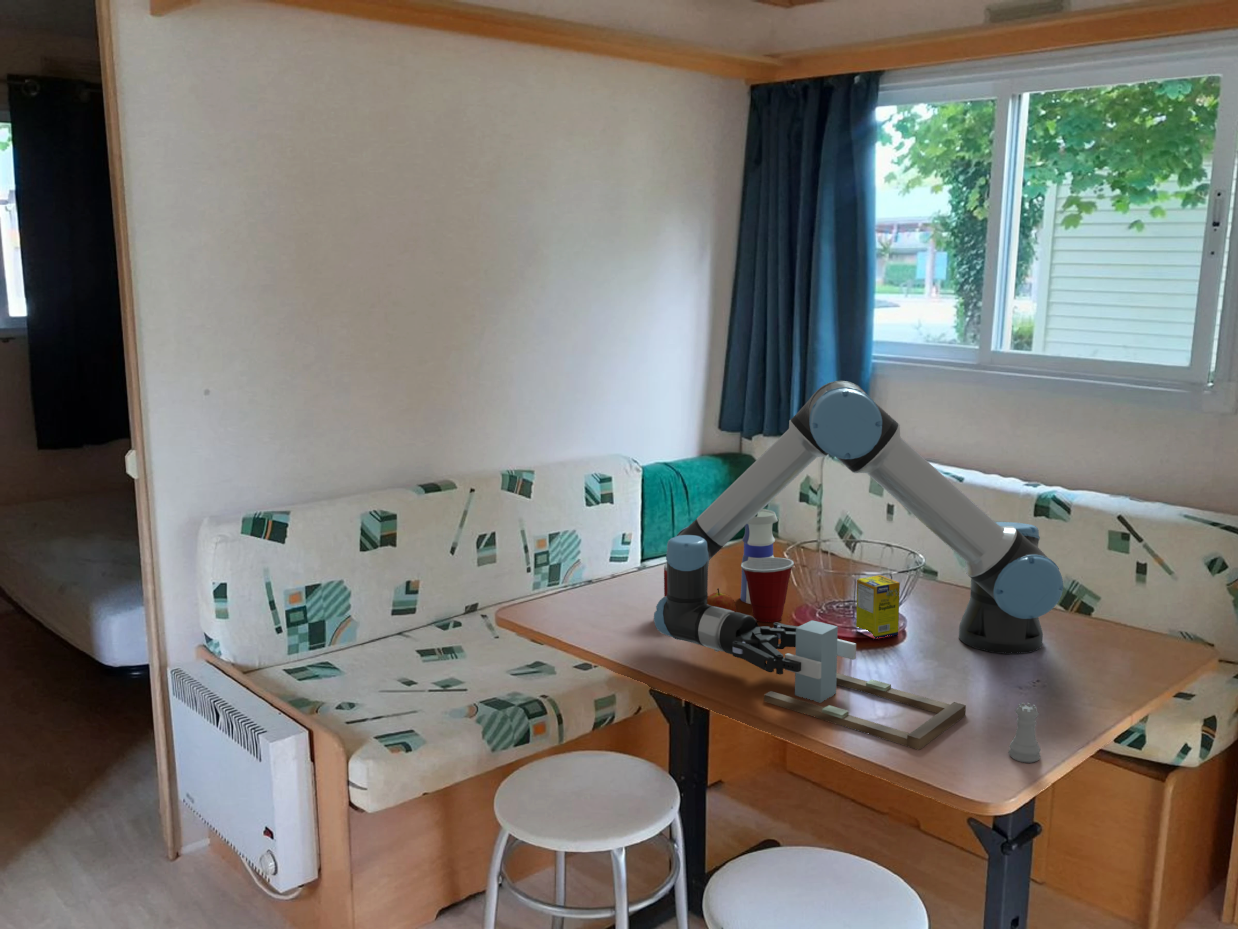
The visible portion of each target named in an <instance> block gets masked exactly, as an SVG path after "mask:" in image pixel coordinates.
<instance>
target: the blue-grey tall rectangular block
mask: <svg viewBox="0 0 1238 929" xmlns="http://www.w3.org/2000/svg"><path fill="white" fill-rule="evenodd" d="M838 629H839V627H838V626H837V625H833V624H829V623H826V622H821V621H817V620H812V619H811V620H810V621H808V622H805V623H803V624H801V625H799V627H797V628H796V647H795V655H796V656H800V657H804V658H807V659H811V660H815V661H818V662H821V678H820V679H816V678H812V677H809V676H805V675H802V674H798V673H795V672H794V674H795V675H794V683H795V684H794V696H796V697H799V698H802V697H803V699H806V698H807V699H806V700H809V699H810V700H809V701H812V700H814V701H813V702H816V703H820V704H821V703H823V702H824V700H825V701H826V700H828V699H830V698H831V697H833V696H834V694H835V695H836V694H837V684H836V676H837V673H838V672H837V670H838V666H837V665H838V664H837V663H838V662H837V661H838V656H837V639H838ZM829 697H830V698H829ZM827 698H828V699H827Z"/></svg>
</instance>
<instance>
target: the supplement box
mask: <svg viewBox="0 0 1238 929" xmlns="http://www.w3.org/2000/svg"><path fill="white" fill-rule="evenodd" d="M900 586H901V583H900V582H899V581H897V580H894V579H892V578H888V577H887V576H884V575H881V574H878V575H873V576H867V577H862V578H857V579H856V606H855V607H856V610H855V611H856V616H855V617H856V619H855V622H856V623H855V628H856V627H859V628H862V629H866V630H868V631H869V632H871V633H872V634H873V636H874V637H875V639H876V638H877V637H878V638H879V637H885V636H887V635H888V636H889V635H890V636H891V635H892V636H893V637H895V636H894V635H897V636H899V626H900V625H899V624H900V623H899V622H900V621H899V620H900V618H899V616H900V590H901V589H900Z"/></svg>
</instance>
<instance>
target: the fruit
mask: <svg viewBox="0 0 1238 929" xmlns="http://www.w3.org/2000/svg"><path fill="white" fill-rule="evenodd" d="M716 591H717V592H713V593H711V594H708V597H707V604H708V605H711V606H715V607H719V608H723V609H728V610H732V611H734V612H737V605H736V602H735V600H734V599H733V597H731V595H729V594H727V593H722V592H720V588H717V589H716Z"/></svg>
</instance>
